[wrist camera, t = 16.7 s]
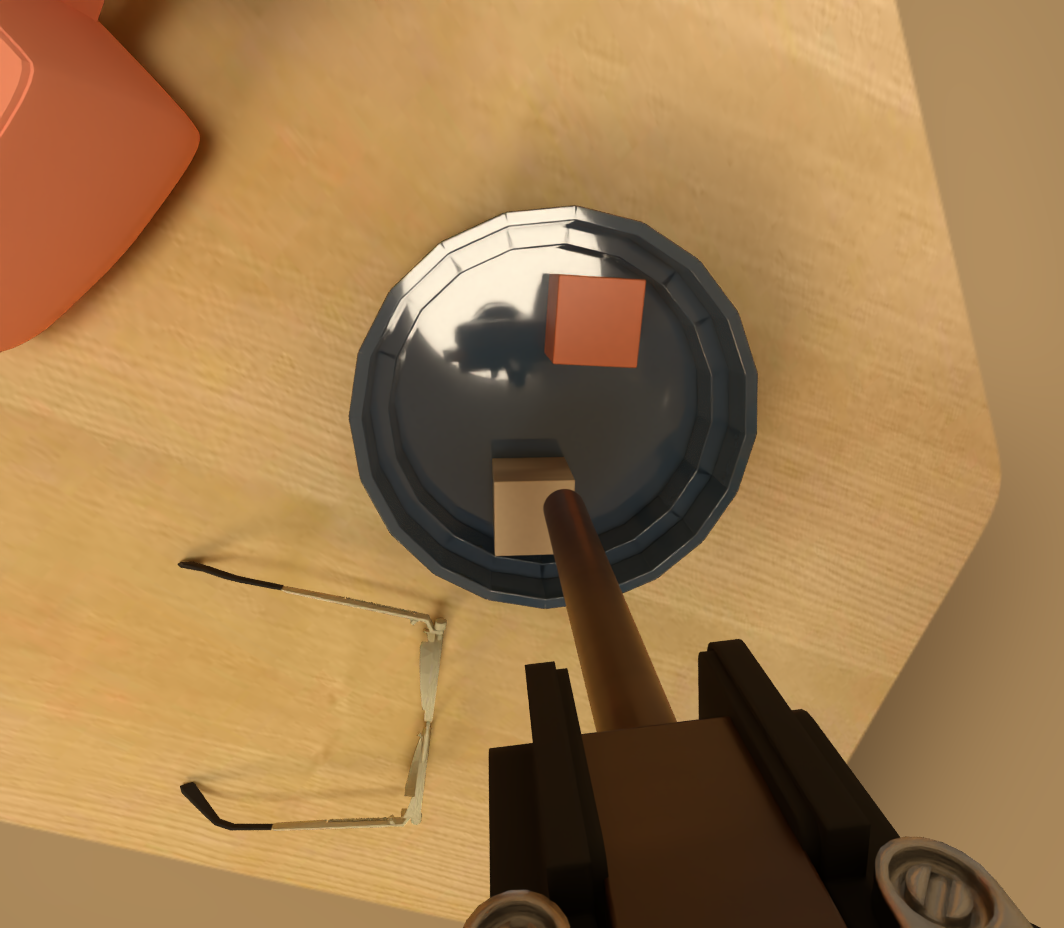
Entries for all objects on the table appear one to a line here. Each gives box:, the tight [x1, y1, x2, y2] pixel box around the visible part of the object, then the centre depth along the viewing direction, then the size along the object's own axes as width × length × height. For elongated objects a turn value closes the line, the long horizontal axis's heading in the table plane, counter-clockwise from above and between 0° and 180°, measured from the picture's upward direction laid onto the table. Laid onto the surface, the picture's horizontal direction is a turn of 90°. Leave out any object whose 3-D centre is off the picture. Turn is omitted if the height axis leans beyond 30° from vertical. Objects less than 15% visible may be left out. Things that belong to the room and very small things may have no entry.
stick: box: [543, 489, 848, 928], centre depth 14 cm, size 2×2×16 cm
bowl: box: [349, 205, 758, 609], centre depth 32 cm, size 19×19×5 cm
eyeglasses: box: [178, 562, 447, 831], centre depth 36 cm, size 17×15×5 cm
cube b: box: [492, 457, 575, 556], centre depth 33 cm, size 4×4×4 cm
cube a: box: [544, 274, 646, 368], centre depth 31 cm, size 4×4×4 cm
